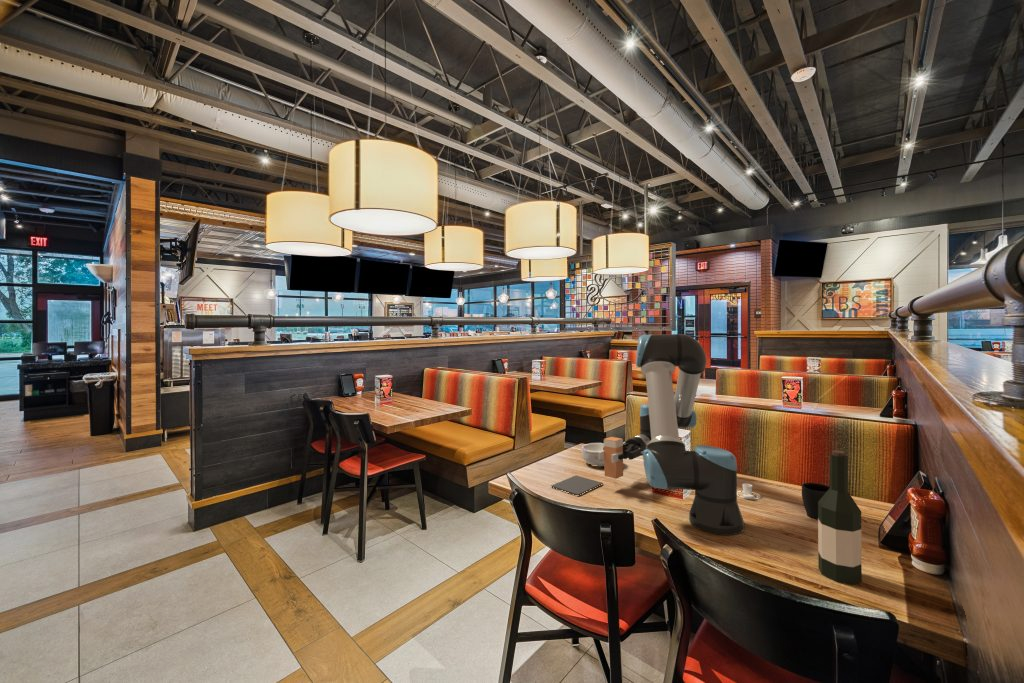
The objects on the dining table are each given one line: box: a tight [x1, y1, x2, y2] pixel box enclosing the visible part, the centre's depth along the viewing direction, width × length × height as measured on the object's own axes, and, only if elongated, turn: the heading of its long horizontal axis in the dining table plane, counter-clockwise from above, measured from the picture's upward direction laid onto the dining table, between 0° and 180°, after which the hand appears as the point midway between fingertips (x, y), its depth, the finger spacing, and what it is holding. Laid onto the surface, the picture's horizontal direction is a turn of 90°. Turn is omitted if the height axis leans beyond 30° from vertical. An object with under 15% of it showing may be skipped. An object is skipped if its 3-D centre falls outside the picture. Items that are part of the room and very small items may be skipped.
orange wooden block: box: [603, 436, 624, 480], centre depth 159 cm, size 5×5×14 cm
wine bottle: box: [817, 449, 863, 586], centre depth 102 cm, size 8×8×30 cm
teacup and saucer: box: [737, 482, 762, 500], centre depth 151 cm, size 9×8×4 cm
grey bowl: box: [580, 442, 604, 466], centre depth 190 cm, size 15×15×8 cm
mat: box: [550, 475, 604, 496], centre depth 164 cm, size 13×16×1 cm
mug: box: [801, 482, 830, 521], centre depth 131 cm, size 8×12×10 cm
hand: (605, 457), depth 156 cm, fingers closed on orange wooden block, 5 cm apart
